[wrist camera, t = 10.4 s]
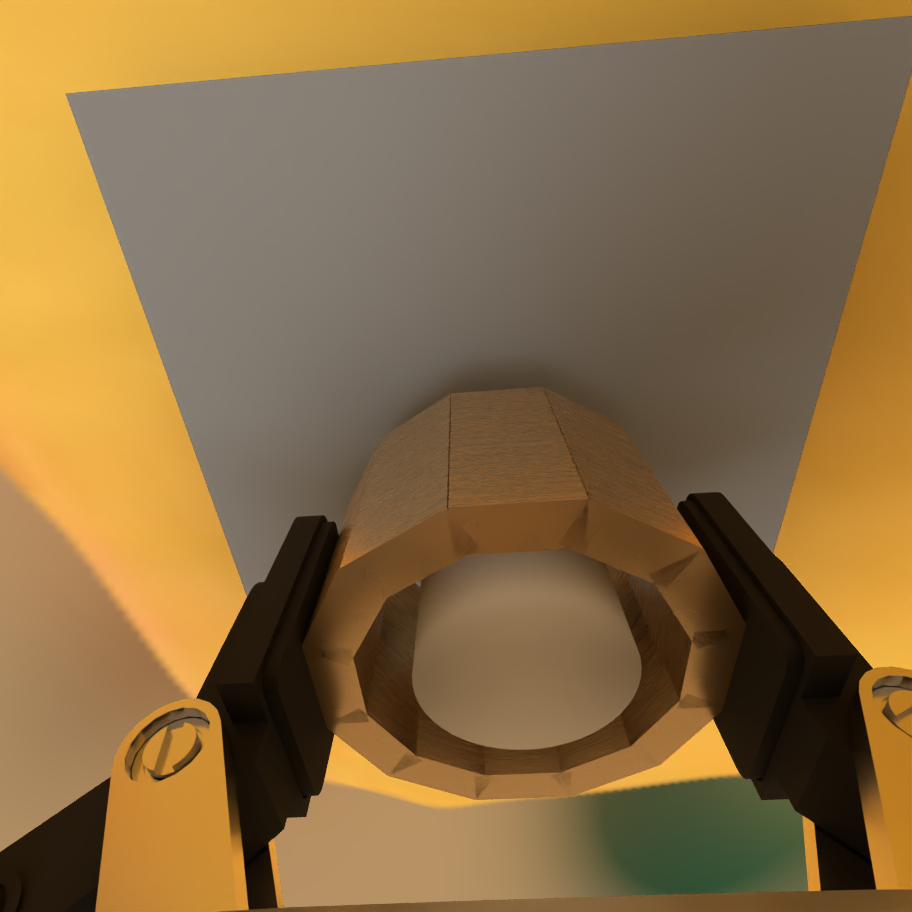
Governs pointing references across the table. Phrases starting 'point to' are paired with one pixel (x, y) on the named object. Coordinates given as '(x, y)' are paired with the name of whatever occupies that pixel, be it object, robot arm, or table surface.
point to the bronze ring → (507, 531)
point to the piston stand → (505, 296)
